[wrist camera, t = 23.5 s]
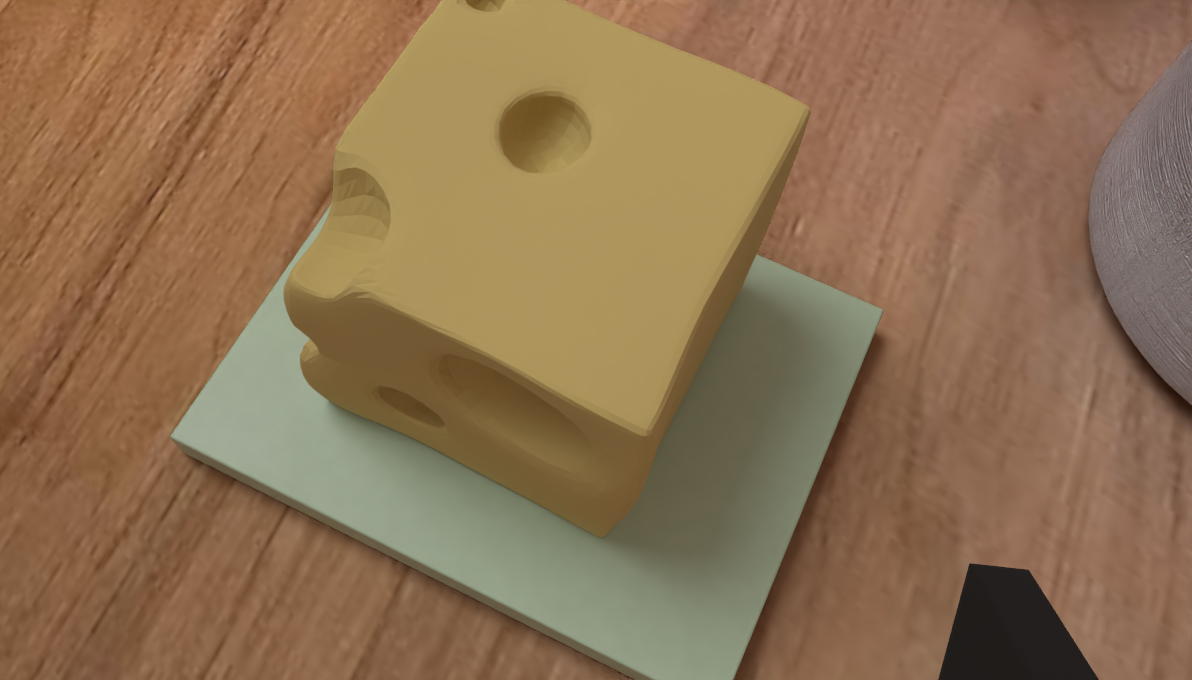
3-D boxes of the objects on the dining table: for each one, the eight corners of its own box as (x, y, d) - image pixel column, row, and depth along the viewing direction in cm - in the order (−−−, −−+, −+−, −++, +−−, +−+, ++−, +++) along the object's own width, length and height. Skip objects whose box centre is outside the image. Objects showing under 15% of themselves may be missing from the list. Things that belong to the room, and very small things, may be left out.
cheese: (312, 403, 33) (231, 239, 24) (489, 147, 37) (477, -75, 28) (616, 564, 32) (651, 454, 23) (764, 278, 36) (844, 88, 27)
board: (182, 453, 34) (168, 436, 32) (407, 124, 39) (403, 98, 38) (711, 718, 31) (720, 713, 30) (871, 328, 37) (884, 309, 36)
